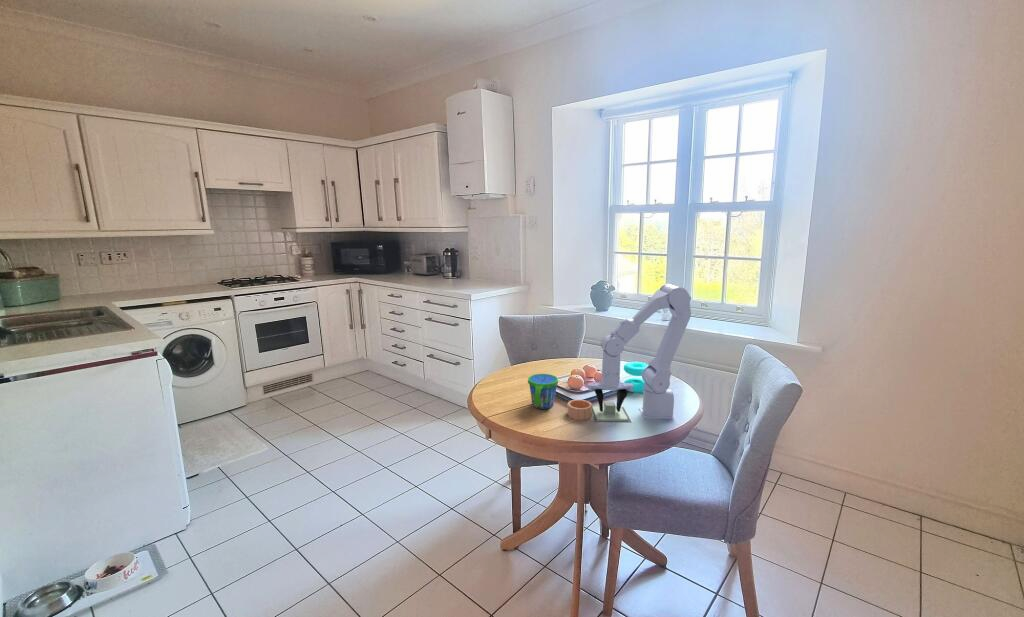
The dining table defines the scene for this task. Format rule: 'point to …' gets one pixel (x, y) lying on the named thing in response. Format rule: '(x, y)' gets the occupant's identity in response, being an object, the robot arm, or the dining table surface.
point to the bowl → (579, 409)
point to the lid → (609, 413)
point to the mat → (611, 421)
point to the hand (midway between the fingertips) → (609, 410)
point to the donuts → (635, 370)
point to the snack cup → (543, 390)
